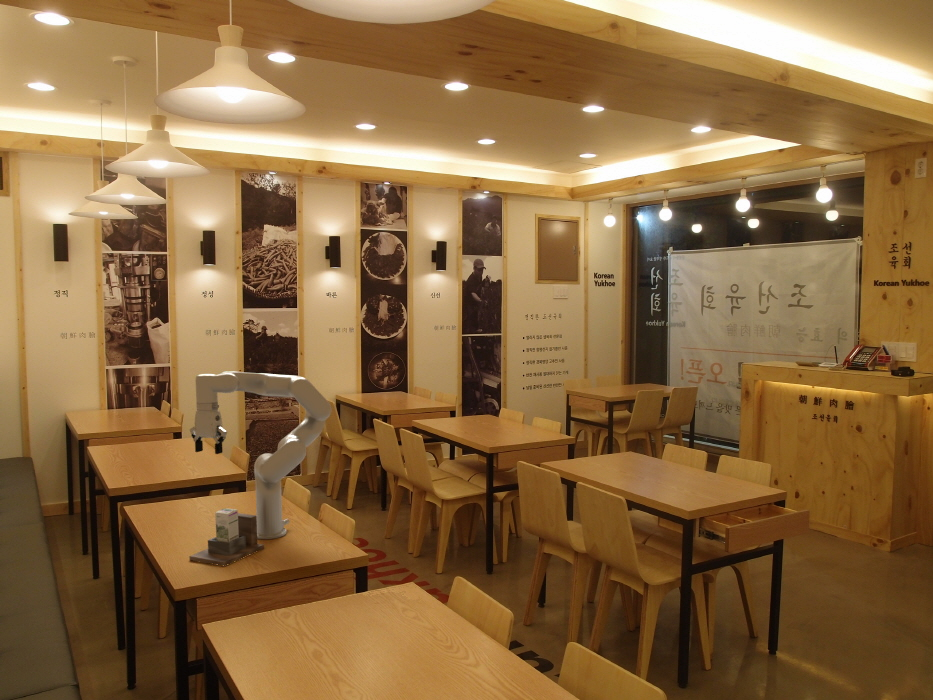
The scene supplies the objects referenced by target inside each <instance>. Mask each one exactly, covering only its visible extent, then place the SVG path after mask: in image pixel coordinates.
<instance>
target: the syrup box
mask: <svg viewBox="0 0 933 700" xmlns="http://www.w3.org/2000/svg"><path fill="white" fill-rule="evenodd" d="M238 513H239V510H238V509H236V508H235V509H233V508H222V509H219V510H217V511H215V513H214V514H215V517H214V518H215V535H216V536H215V537H216V540H217V541H222V542H230V541H232V540H235V539H237V538H239V530H238Z"/></svg>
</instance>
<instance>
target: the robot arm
mask: <svg viewBox="0 0 933 700" xmlns="http://www.w3.org/2000/svg"><path fill="white" fill-rule="evenodd" d="M234 392H246V393H251V394H256V395H260V396H266V397H280V398H281V397H282V398H294V399H295V400H296V401H297V403H299V405H300V406H301V407H302V408H303V409H304V410H305V416H304V418H303V420H302V421H301V422H300V423H299V424H298V425H297V426H296V427H295V428H294V429H293V430H292V431H291V432H289V433H288V434H287V435H286V436H285V437H283V438H282V439H280V441H279V442H278V443H277V444H278V445H277V450H276V451H275V452H273V453H268V452H266V453H263V454H260V455H259V456H258V457H257V458H256V460H255V462H254V466H253V467H254V468H253V471H254V479H255V481H254V482H255V484H254V485H255V506H256V509H255V511H256V516H257V540H271V539H278V538H281V537H284V536H285V535H286V534H287V529H286V528H284V527H285V526H286V525H288V524H290V519H289V518H286V519H283V507H282V504H283V503H282V501H283V500H282V482H281V481H282V479H284V478H285V477H286V476H287V475H288V474H289V473H290V472H291V471H293V470H294V469H295V468H296V467H298V465H300V464H301V463H302V462H303V461H304V459H305V458H306V456H307V451H308V450H307V448H308V447H309V446H310V445H311V444H312V443H313V442H314V441H315V440H316V439H317V438H319V436H320V435H321V434H322V432H323V430H324V428H325V425H326V421H327V419H328V418H329V417H330V416H331V414H332V411H333V410H332V405H331V403H330V401H328V400H327V399H326V397H325V396H324V395H323V394H321V392H320V391H319V390H318V389H317V388H316V387H315V386H314V385H313V384H312V382H311V381H310V380H309V379H307V378H305V377H303V376H300V375H290V374H275V373H274V374H273V373H263V372H261V373H256V372H243V371H230V370H229V371H222V372H220V373H219V374H215V373H214V374H213V373H201V374H198V375H196V376H195V397H196V399H195V401H196V403H195V404H196V411H195V413H194V414H195V415H194V426H192V427H191V428H190V429H189V432H190V434H191V436H190V437H192V439H193V442H194V449H195V453H199V452H203V451H204V446H203V445H204V444H203V443H204V441H203V440H202V439H203V438H205V439H206V438H207V439H213V440H214V441H215V443H214V454H215V455H219V454H222V453H223V443H224V441H225V440H226V438H227V437H226V436H227V434H228V431H227V430H225V429H224V427H223V418H222V414H221V411H220V410H219V407H220V405H219V402H218V401H219V399H218V398H219V397H218V393H222V394H223V393H224V394H232V393H234Z"/></svg>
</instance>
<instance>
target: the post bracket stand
mask: <svg viewBox="0 0 933 700" xmlns="http://www.w3.org/2000/svg"><path fill="white" fill-rule="evenodd" d="M238 530H239V538H237V539H235V540H232V541H230V542H222V541H217V540H216V536H215V537H212V538H209V539H208V540H207V548H205V549H203V550H201V551H198V552H197V553H194V554H191V555H189V557H188V558H189V561H190V560H193V561H192V562H196V561H200V562H199V563H201V562H206V563H205V564H207V563H213V564H218V565H224V566H225V565H227V564H229V565H231V564H230V563H232V562H234V561H236V562H238V561H240V560H242V559H244V558H243V557H245V556H247V555H249V554H251V555H253V554H255V553H254V552H256V551H258V552H260V551H262V550H264V549H265V545H264V544H261V543H258V539H257V514H255V515H254V514H248V513H242V512H241V513H240V512H238ZM263 548H264V549H263ZM261 549H262V550H261ZM259 550H260V551H259ZM252 553H253V554H252ZM256 553H257V552H256ZM249 556H250V555H249ZM247 557H248V556H247ZM241 558H242V559H241ZM245 558H246V557H245ZM239 559H240V560H239ZM237 560H238V561H237ZM234 563H235V562H234ZM213 564H212V565H213ZM232 564H233V563H232ZM218 565H217V566H218ZM224 566H223V567H224ZM227 566H228V565H227ZM225 567H226V566H225Z"/></svg>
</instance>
